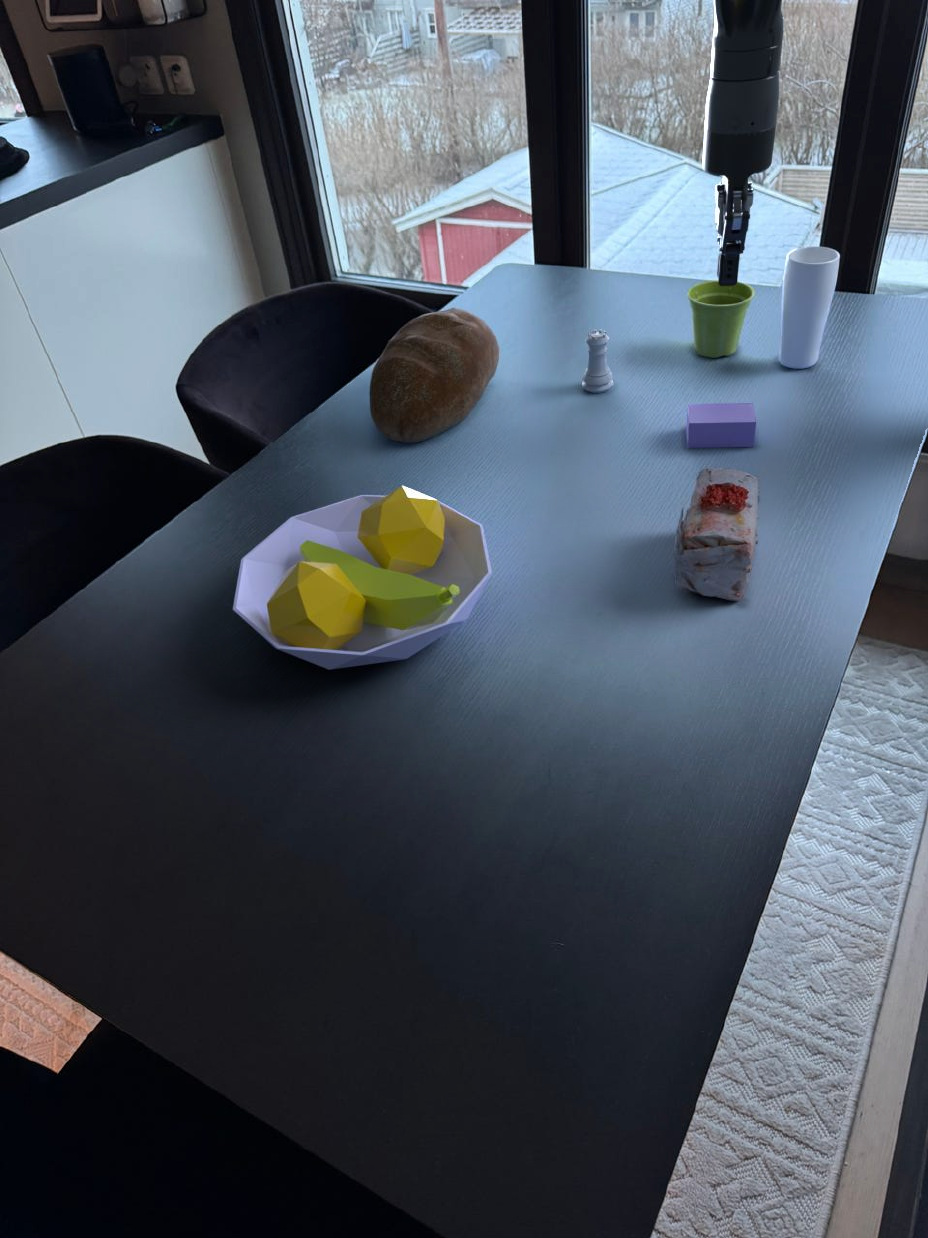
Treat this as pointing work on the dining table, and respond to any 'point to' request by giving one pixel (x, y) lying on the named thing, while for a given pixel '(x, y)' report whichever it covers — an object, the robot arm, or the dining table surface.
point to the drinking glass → (806, 303)
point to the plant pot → (718, 316)
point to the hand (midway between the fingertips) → (726, 280)
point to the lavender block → (720, 425)
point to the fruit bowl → (364, 579)
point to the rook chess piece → (597, 364)
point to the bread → (432, 374)
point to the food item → (718, 535)
